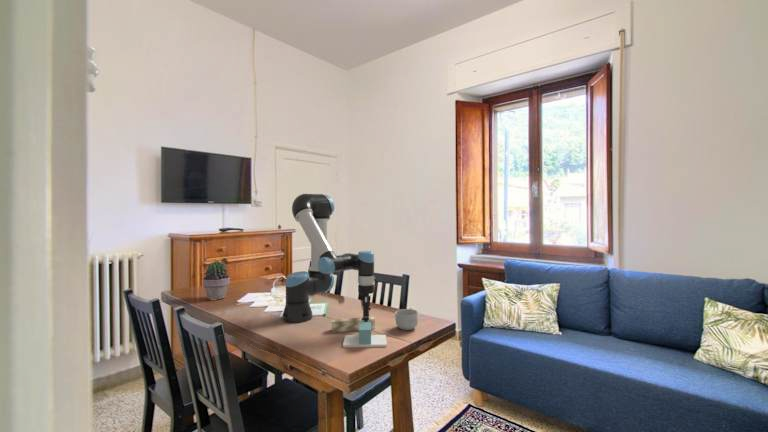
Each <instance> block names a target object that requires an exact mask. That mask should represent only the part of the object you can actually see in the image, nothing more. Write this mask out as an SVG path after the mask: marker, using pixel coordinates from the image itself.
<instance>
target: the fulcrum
mask: <svg viewBox="0 0 768 432" xmlns="http://www.w3.org/2000/svg"><path fill="white" fill-rule="evenodd" d="M343 339H344V340H343V343H342V348H388V346H387V345H388V343H387V335H386V334H372V329H371V322H360V325H359V330H358V334H346V335H344V338H343Z"/></svg>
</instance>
